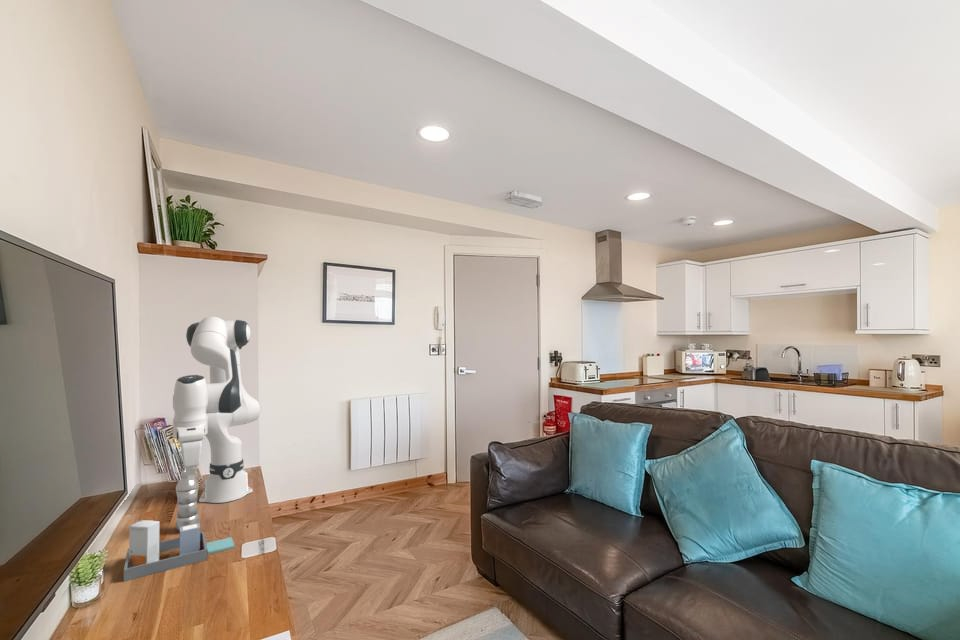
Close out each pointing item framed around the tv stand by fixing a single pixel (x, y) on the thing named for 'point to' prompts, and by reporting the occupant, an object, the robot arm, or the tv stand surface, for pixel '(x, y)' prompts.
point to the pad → (220, 545)
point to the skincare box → (144, 542)
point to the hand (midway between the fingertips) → (190, 475)
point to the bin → (166, 563)
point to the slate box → (189, 538)
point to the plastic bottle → (187, 501)
